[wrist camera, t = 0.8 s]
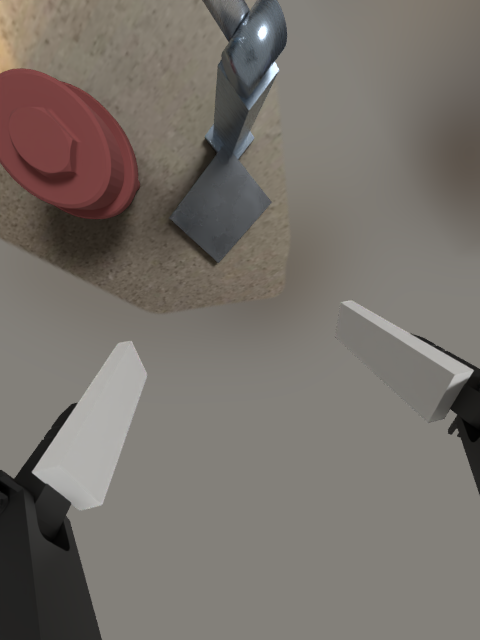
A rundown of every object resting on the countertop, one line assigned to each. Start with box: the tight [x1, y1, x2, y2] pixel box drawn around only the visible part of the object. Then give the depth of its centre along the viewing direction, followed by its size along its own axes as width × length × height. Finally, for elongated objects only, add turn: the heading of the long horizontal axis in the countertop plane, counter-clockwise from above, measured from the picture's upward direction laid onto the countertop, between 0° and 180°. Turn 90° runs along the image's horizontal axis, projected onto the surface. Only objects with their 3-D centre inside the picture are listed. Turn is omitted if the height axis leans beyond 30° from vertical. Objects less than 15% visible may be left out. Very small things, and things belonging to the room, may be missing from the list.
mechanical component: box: [0, 68, 140, 219], centre depth 20 cm, size 12×10×10 cm
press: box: [170, 60, 279, 263], centre depth 22 cm, size 11×15×14 cm
